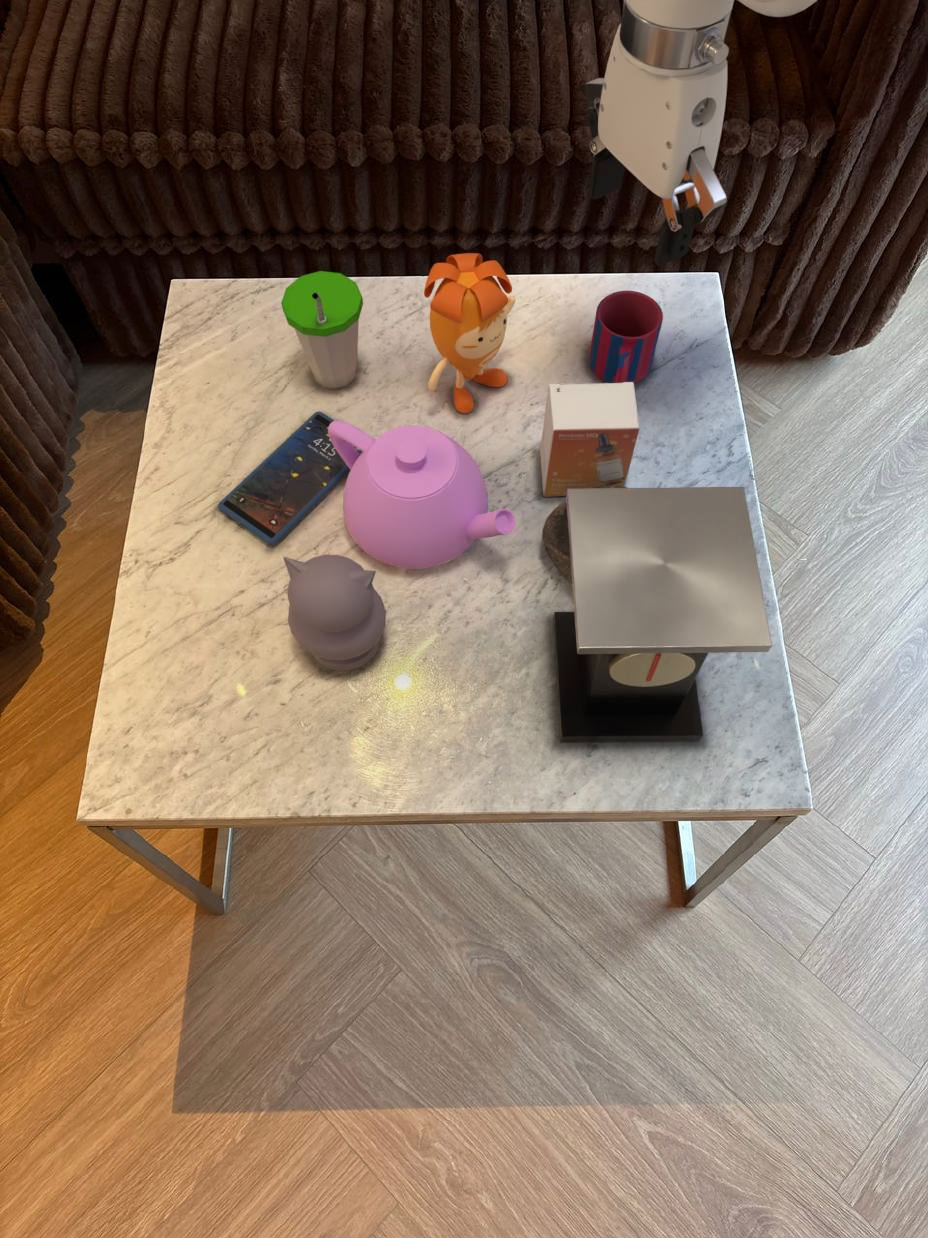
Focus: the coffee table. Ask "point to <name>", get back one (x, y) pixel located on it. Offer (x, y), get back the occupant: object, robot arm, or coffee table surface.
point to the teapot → (414, 495)
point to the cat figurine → (335, 610)
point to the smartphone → (288, 482)
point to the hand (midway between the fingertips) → (636, 224)
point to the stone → (560, 538)
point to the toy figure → (468, 321)
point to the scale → (652, 608)
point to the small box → (587, 436)
